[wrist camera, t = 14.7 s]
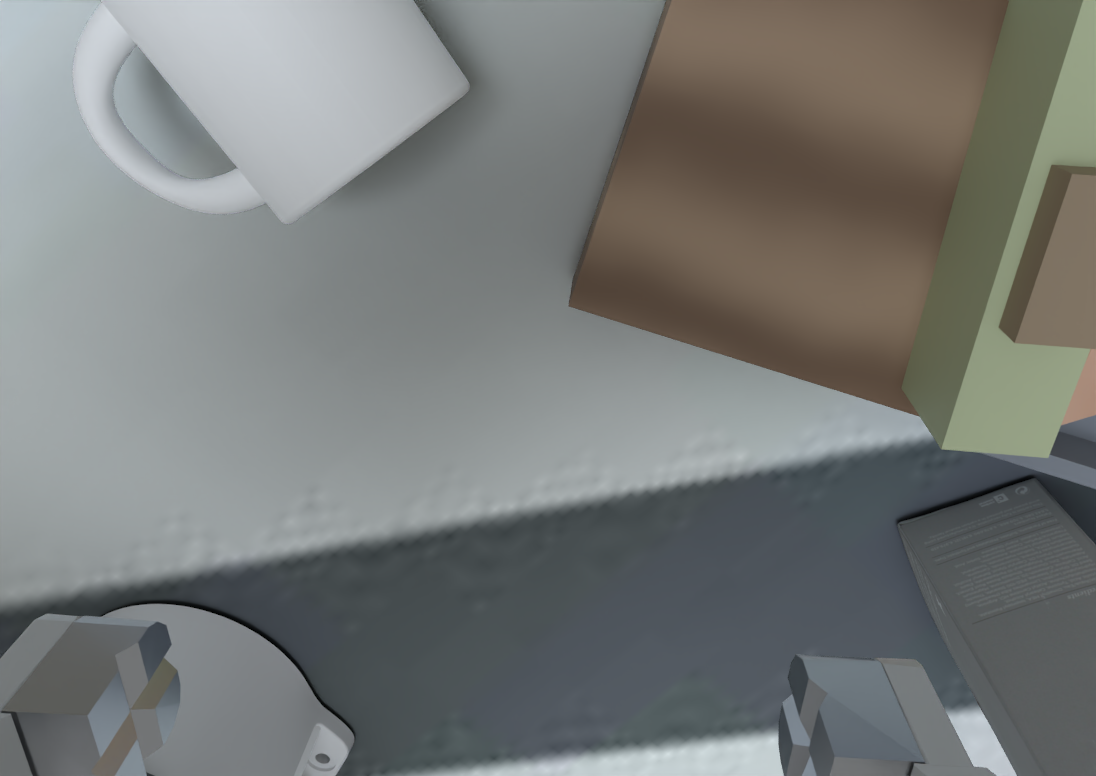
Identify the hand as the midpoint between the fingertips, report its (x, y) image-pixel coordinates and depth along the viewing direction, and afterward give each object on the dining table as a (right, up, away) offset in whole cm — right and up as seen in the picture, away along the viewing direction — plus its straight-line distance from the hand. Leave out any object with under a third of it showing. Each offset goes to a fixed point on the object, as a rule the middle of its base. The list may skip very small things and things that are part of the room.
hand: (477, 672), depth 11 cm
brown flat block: (+12, +12, +20) cm, 26 cm away
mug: (-9, +16, +20) cm, 28 cm away
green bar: (+17, +10, +17) cm, 26 cm away
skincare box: (+22, -4, +28) cm, 36 cm away
